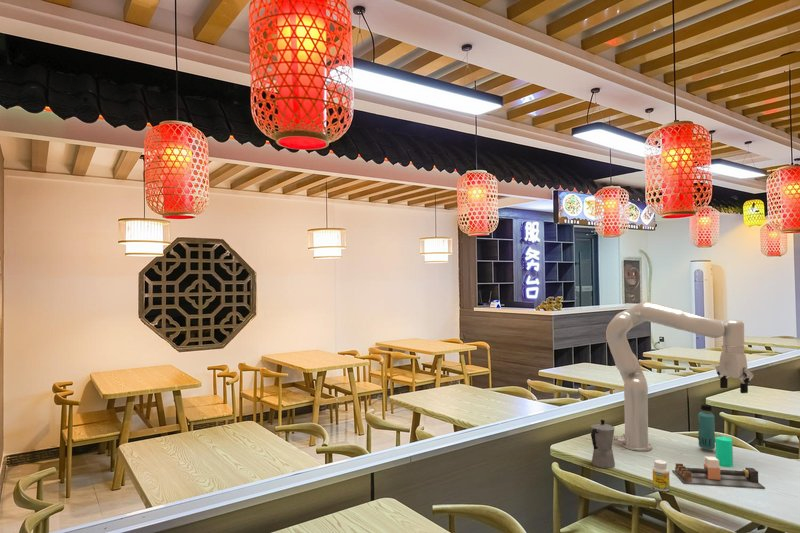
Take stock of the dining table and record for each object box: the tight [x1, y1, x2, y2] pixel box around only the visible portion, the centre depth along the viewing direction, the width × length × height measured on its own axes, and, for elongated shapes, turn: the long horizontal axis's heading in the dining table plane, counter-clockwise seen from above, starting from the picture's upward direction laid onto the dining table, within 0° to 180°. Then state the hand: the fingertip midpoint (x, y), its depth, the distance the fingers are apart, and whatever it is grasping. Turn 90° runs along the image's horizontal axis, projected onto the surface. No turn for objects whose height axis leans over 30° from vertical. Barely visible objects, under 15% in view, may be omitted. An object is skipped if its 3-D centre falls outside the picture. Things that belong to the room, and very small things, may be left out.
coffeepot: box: [590, 419, 616, 469], centre depth 207 cm, size 15×9×18 cm, turn 131°
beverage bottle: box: [697, 403, 716, 450], centre depth 224 cm, size 6×7×20 cm
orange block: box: [703, 456, 721, 480], centre depth 192 cm, size 4×4×7 cm
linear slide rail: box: [672, 462, 766, 490], centre depth 192 cm, size 27×12×5 cm, turn 80°
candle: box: [715, 436, 734, 468], centre depth 208 cm, size 6×6×12 cm
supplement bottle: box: [652, 459, 671, 492], centre depth 184 cm, size 5×5×10 cm
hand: (733, 390), depth 215 cm, fingers open, 9 cm apart
